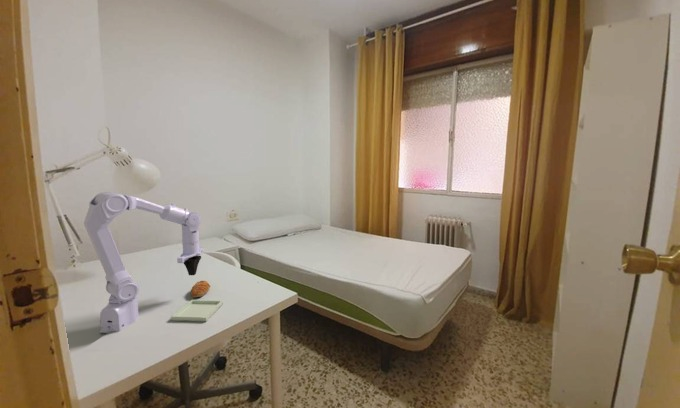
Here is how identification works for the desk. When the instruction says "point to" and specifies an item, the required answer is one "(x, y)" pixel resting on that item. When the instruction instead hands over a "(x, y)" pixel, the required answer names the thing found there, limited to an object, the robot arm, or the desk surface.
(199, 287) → the pastry
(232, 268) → the desk surface
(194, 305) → the tray
